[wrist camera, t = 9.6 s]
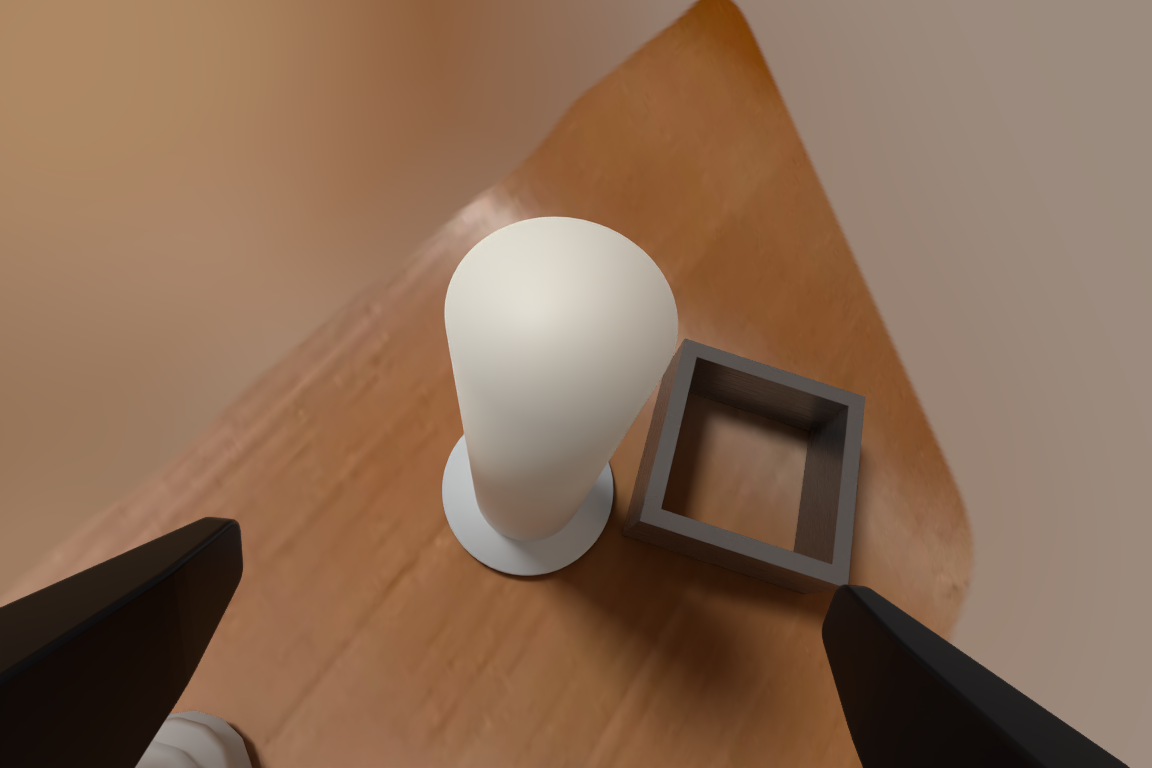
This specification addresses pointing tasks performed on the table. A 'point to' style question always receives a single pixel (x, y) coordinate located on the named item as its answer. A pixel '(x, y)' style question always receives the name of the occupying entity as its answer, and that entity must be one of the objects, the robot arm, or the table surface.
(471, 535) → the white oval disc
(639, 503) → the frame
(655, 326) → the cream peg
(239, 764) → the rook chess piece
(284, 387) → the table surface
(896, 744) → the robot arm
